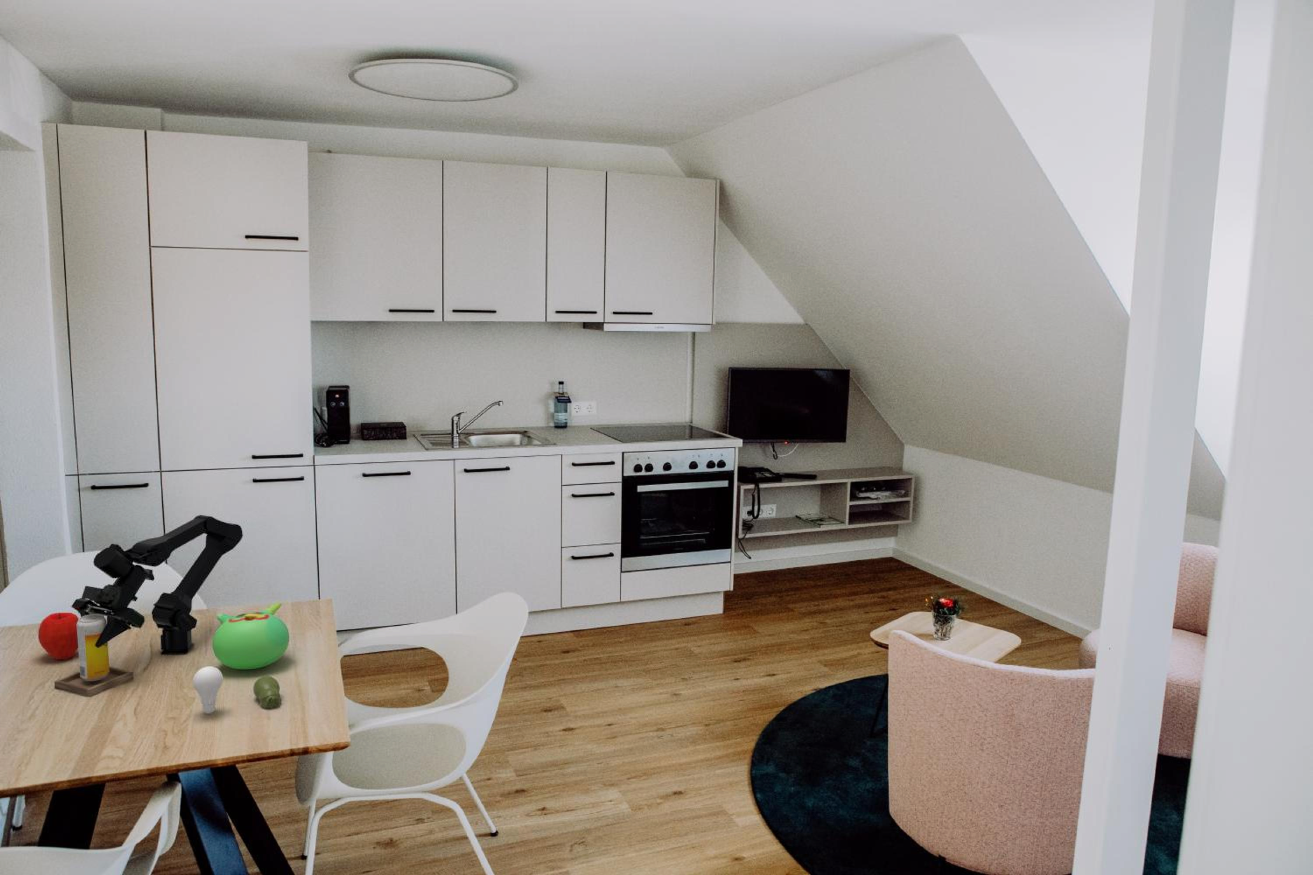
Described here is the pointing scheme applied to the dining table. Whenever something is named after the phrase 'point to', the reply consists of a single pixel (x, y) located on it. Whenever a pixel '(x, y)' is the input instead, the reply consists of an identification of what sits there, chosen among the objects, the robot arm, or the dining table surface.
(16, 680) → the dining table surface
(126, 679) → the tray
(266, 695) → the olive green rounded piece
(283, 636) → the toy bird
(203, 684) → the lightbulb
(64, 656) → the apple
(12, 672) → the dining table surface
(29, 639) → the dining table surface
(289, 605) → the dining table surface
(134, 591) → the robot arm
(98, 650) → the beer can
